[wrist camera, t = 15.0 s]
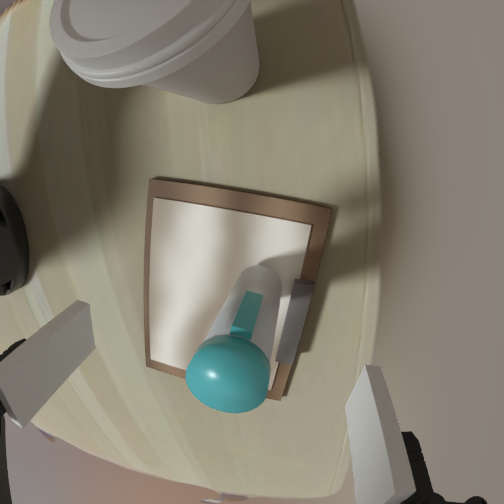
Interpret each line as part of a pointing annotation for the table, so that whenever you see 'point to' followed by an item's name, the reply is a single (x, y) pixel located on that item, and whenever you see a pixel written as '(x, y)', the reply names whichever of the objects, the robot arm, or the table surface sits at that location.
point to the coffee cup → (160, 45)
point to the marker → (239, 345)
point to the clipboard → (224, 267)
